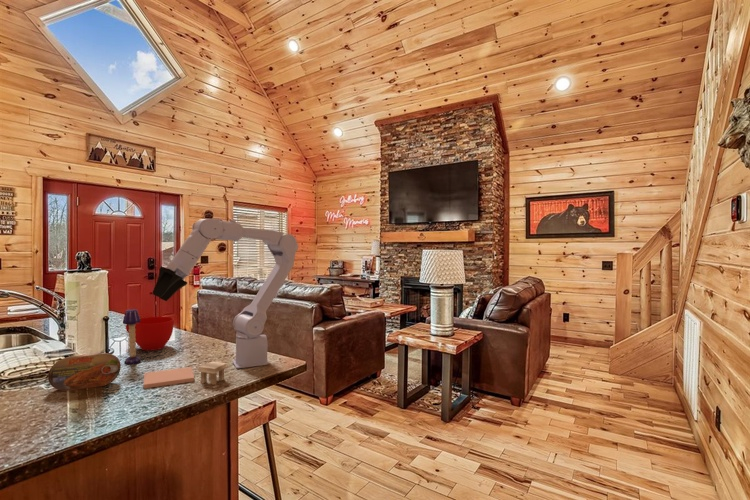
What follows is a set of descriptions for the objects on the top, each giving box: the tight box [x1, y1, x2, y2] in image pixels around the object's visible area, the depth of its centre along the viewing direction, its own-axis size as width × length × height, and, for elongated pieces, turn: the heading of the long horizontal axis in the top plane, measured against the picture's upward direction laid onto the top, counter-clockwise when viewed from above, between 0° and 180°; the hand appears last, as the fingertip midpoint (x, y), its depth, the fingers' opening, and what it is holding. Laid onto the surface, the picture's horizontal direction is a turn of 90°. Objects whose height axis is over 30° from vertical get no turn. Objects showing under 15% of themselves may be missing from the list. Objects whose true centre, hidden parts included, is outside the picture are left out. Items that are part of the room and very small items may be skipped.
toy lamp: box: [122, 308, 142, 366], centre depth 118 cm, size 5×5×17 cm
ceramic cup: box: [125, 316, 175, 351], centre depth 134 cm, size 13×17×10 cm
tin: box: [47, 352, 122, 392], centre depth 98 cm, size 15×3×8 cm, turn 117°
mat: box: [142, 366, 195, 389], centre depth 105 cm, size 12×10×1 cm
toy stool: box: [198, 361, 227, 385], centre depth 104 cm, size 5×5×4 cm
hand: (159, 297), depth 101 cm, fingers open, 7 cm apart
